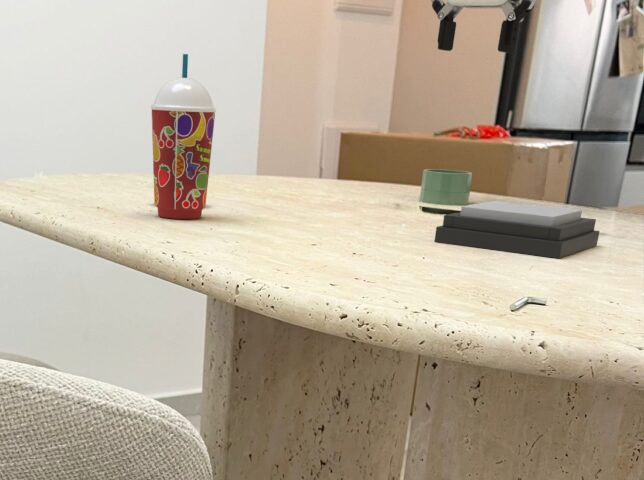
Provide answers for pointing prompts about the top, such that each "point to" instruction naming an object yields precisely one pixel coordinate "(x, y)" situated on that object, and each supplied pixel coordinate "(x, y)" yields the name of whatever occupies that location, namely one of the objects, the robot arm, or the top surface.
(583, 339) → the top surface
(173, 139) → the smoothie
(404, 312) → the top surface
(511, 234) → the scale
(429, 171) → the green stacked cylinder
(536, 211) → the pan
